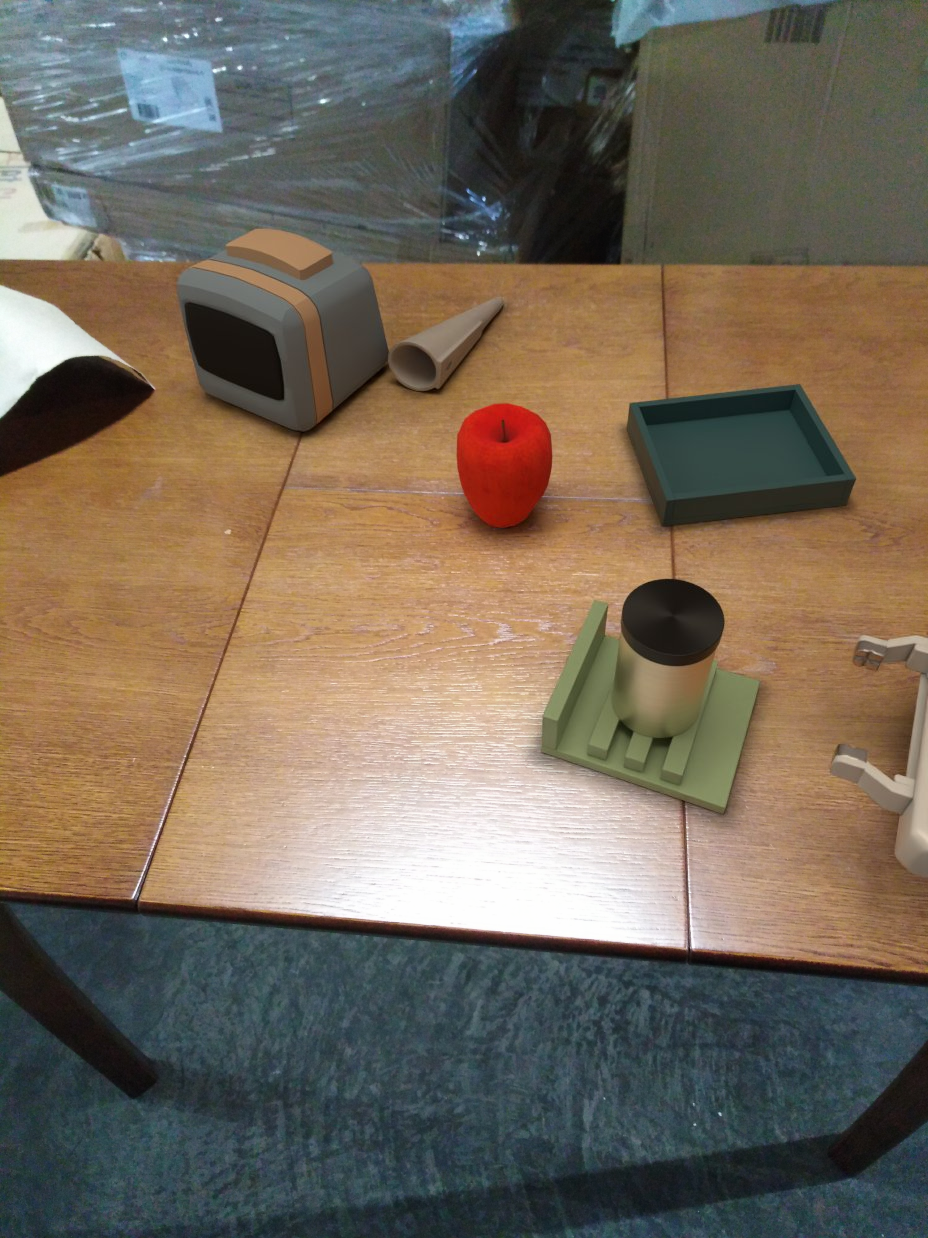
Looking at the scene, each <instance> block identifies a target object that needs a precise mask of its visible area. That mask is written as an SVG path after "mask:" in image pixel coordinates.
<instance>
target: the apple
mask: <svg viewBox="0 0 928 1238" xmlns="http://www.w3.org/2000/svg"><path fill="white" fill-rule="evenodd" d="M461 423H462V424H461V426H460V428H459V430H458V433H457V434H456V466H457V468H456V469H457V474H458V478H459V482H460V487H461V489H462V492H463V495H464V497H465V498H466V500H467V502H468V503H469V505H470V507H471V509H472V510H473V511H474V513H475V514H476V515H477V516H478V517H479V519H480V520H481V521H482V522H484V523H485V524H487V525H488V526H490V527H492V528H493V527H494V528H500V529H501V528H502V529H505V528H509V527H515V526H517V525H519V524H520V523H522V522H523V521H524V520H526V519H527V518H528V517H529V515H531V513H532V511H533V510H534V509H535V507H536V506H537V504H538V503H539V502H540V500H541V499H542V498H543V496H544V495H545V493H546V490H547V488H548V487H549V484H550V479H551V474H552V469H553V445H552V442H553V441H552V434H551V430H550V429H549V427H548V424H547V422H546V421H545V420H544V419H543V418H542V417H541V416H540V415H539V414H538V413H536V412H534V411H531V410H529V409H528V408H526V407H524V406H522V405H517V404H513V403H509V402H502V403H492V404H489V405H487V406H483V407H482V408H478V409H476V410H474V411H473V412H471V413H470V414H469V415H467V416H466V417H465V418H464V419H463V421H462V422H461Z"/></svg>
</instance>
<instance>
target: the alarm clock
mask: <svg viewBox="0 0 928 1238" xmlns="http://www.w3.org/2000/svg"><path fill="white" fill-rule="evenodd" d="M176 295H177V299H178V304H179V309H180V314H181V318H182V322H183V326H184V332H185V334H186V338H187V343H188V347H189V351H190V354H191V359H192V362H193V365H194V369H195V374H196V377H197V380H198V383H199V385H200V386H201V389H202V390H203V391H204V392H205V393H207V394H208V395H210V396H212V397H215V398H217V399H219V400H221V401H224V402H227V403H228V404H231V405H233V406H236V407H238V408H240V409H243V410H245V411H247V412H249V413H250V412H251V413H253V414H255V415H256V416H260V417H262V418H264V419H267V420H269V421H271V422H274V423H276V424H278V425H281V426H283V427H285V428H288V429H290V430H293V431H295V432H303V433H305V432H307V431H309V430H311V429H313V428H314V427H315V426H317V424H318V423H320V422H322V420H323V419H324V418H326V417H327V416H328V415H329V414H330V413H331V412H333V411H334V410H335V409H336V408H338V406H340V404H342V403H343V402H345V400H346V399H347V398H349V397H350V396H351V395H352V394H354V392H356V391H357V390H358V389H359V388H360V387H361V386H363V385H364V384H365V383H366V382H368V381H369V380H370V379H371V378H372V377H373V376H375V374H377V373H378V372H379V371H380V370H381V369H382V368H384V367H385V366H386V365H387V364H388V354H389V351H390V349H389V346H388V341H387V337H386V333H385V328H384V324H383V320H382V315H381V311H380V307H379V303H378V302H379V301H378V299H377V294H376V290H375V285H374V281H373V277H372V275H371V273H370V271H369V269H368V268H366V266H364V265H363V264H362V263H360V262H358V261H357V260H355V259H352V258H351V257H348V256H346V255H344V254H342V253H339V252H337V251H334V250H332V249H330V248H327V247H325V246H323V245H321V244H319V243H318V242H315V241H313V240H311V239H309V238H307V237H304V236H301V235H299V234H296V233H294V232H289V231H286V230H285V231H284V230H280V229H273V228H272V229H271V228H254V229H253V230H250V231H249V232H247V233H244V234H243V235H241V236H239V237H238V238H235V239H233V240H231V241H229V242H228V243H226V244H225V250H223V251H221V252H218V253H216V254H214V255H212V256H210V257H208V258H206V259H204V260H201V261H199V262H198V263H196V264H194V265H192V266H190V267H188V268H186V269H184V271H183V272H182V273H181V274H180V275H179V277H178V278H177V285H176Z"/></svg>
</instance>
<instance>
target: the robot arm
mask: <svg viewBox="0 0 928 1238" xmlns="http://www.w3.org/2000/svg"><path fill="white" fill-rule="evenodd" d="M851 662H852V664H853V665H854V666H856V667H859V668H861V667H863V668H865V669H866V670H869V671H873V672H878V671H879V668H880V667H881V665H882V664H889V663H900V662H905V663H904V668H905V669H906V670H911V671H915V672H918V673H920V674H919V681H918V686H917V687H918V688H917V694H916V702H915V707H914V708H915V709H914V715H913V722H912V729H911V736H910V742H909V743H910V744H909V748H908V749H909V750H908V756H907V762H906V770H905V775H902V774H898V773H896V774H895V775H894V776H893V777H892V779H891V778H890V777H888V775H886V773H884V772H882V771H881V770H880V769H878V768H877V767H876V766H874V765H873V764H871V763H870V762H869V761H868V759H867V758H868V752H869V751H868V750H867V749H864V748H861V747H853V746H851V745H850V744H847V743H842V742H841V743H838V744H837V745H836V747H835V749H834V750H833V752H832V757H831V760H830V766H829V774H830V775H832V776H833V777H836V778H839V779H842V780H845V781H848V782H852V783H855V784H856V786H857V788H859V789H860V790H861V791H863V793H865V794H866V795H867V796H868V797H869V799H871V800H872V801H873V802H874V803H876V805H877V806H878V807H880V808H881V809H883V810H887V811H890V812H893V813H896V814H899V818H898V825H897V830H896V839H895V846H894V856H895V858H896V859H897V861H898V862H899V863H900V864H901V866H903V867H904V868H905V869H906V870H907V871H908V872H909V873H911V874H913V875H914V876H919V877H922V878H925V879H928V630H927V632H926V634H925V636H921V635H918V634H915V635H909V636H908V635H907V636H902V637H897V638H890V639H887V640H886V639H881V638H878V637H875V636H871V635H867V634H863V635H860V636H858V638H857V641H856V643H855V645H854V650H853V654H852V660H851Z"/></svg>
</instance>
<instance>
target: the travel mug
mask: <svg viewBox="0 0 928 1238" xmlns="http://www.w3.org/2000/svg"><path fill="white" fill-rule="evenodd" d="M725 620H726V619H725V614H724V611H723V608H722V606H721V605H720V603H719V602H718V600H717V599H716V598H715V596H713V595H712V594H711V593H710V592H709V590H706V589H705V588H703V587H702V586H699V585H698V584H695V583H693V582H691V581H687V580H683V579H679V578H678V579H677V578H659V579H652V580H649V581H647V582H645V583H642V584H640V585H638V586H637V587H635V588H634V589H633V590H632V591H630V592H629V594H628V595H627V596H626V598H625V600H624V601H623V604H622V609H621V616H620V635H619V639H620V641H619V648H618V655H617V663H616V670H615V677H614V684H613V692H612V704H613V708H614V711H615V713H616V715H617V716H618V718H619V719H620V720H621V721H622V723H623V724H625V725H626V726H627V727H628V728H630V729H631V730H633V731H635V732H636V733H639V734H641V735H644V736H648V737H653V738H667V737H672V736H676V735H678V734H681V733H683V732H684V731H686V730H687V729H688V728H690V727H691V726H692V725H693V723H694V722H695V721H696V719H697V717H698V714H699V711H700V707H701V703H702V700H703V696H704V693H705V689H706V685H707V682H708V678H709V674H710V671H711V667H712V664H713V660H715V657H716V652H717V649H718V647H719V645H720V643H721V640H722V637H723V633H724V629H725Z"/></svg>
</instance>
